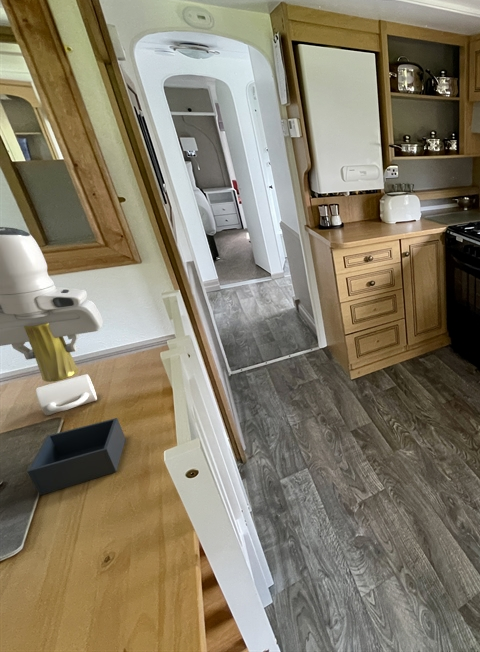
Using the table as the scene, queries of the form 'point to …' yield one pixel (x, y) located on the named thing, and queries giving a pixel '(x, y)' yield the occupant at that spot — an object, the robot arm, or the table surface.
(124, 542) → the table surface
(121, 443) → the bin
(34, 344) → the vase
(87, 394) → the mug
